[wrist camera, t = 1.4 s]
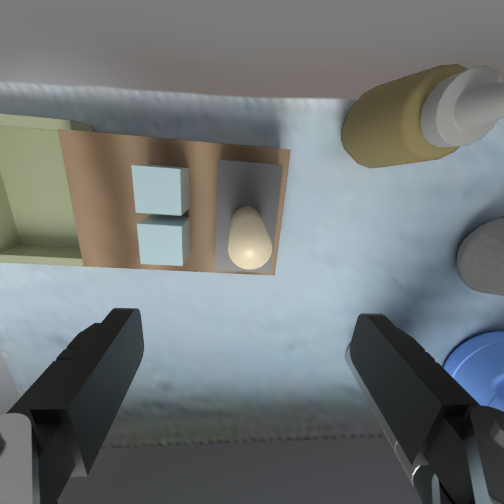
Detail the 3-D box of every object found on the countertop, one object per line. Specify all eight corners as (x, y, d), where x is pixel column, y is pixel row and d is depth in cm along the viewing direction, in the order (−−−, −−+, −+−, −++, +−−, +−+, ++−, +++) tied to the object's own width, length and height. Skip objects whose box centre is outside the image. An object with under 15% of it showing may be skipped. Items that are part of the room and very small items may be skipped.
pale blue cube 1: (189, 167, 24) (180, 169, 20) (189, 207, 25) (181, 215, 21) (148, 164, 23) (131, 165, 20) (151, 204, 25) (135, 212, 21)
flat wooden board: (280, 151, 29) (290, 149, 24) (268, 256, 34) (274, 275, 29) (94, 135, 28) (57, 128, 22) (110, 248, 32) (83, 266, 27)
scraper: (278, 164, 24) (306, 167, 14) (267, 263, 28) (283, 318, 18) (219, 159, 24) (206, 158, 14) (216, 260, 28) (204, 315, 18)
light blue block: (189, 216, 26) (181, 226, 22) (190, 251, 27) (182, 265, 23) (151, 214, 25) (136, 223, 22) (154, 249, 27) (140, 263, 23)
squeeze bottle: (318, 146, 29) (425, 125, 12) (359, 78, 27) (557, -58, 10) (368, 179, 31) (520, 200, 14) (410, 118, 29) (651, 59, 12)
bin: (92, 125, 27) (69, 120, 23) (111, 254, 33) (94, 266, 29) (-21, 115, 26) (-64, 107, 23) (18, 250, 32) (-11, 261, 28)
